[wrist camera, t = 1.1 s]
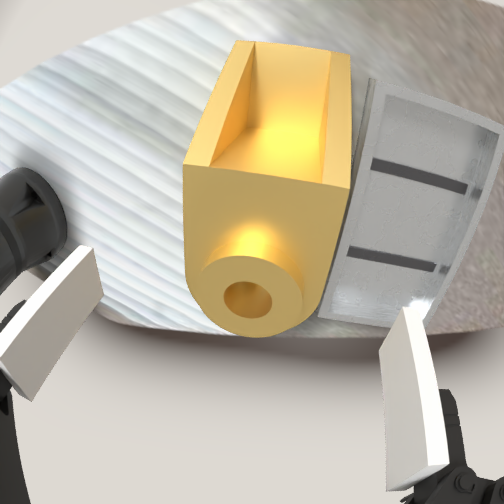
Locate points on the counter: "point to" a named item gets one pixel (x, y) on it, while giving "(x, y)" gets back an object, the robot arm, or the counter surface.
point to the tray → (409, 205)
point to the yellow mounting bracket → (267, 186)
